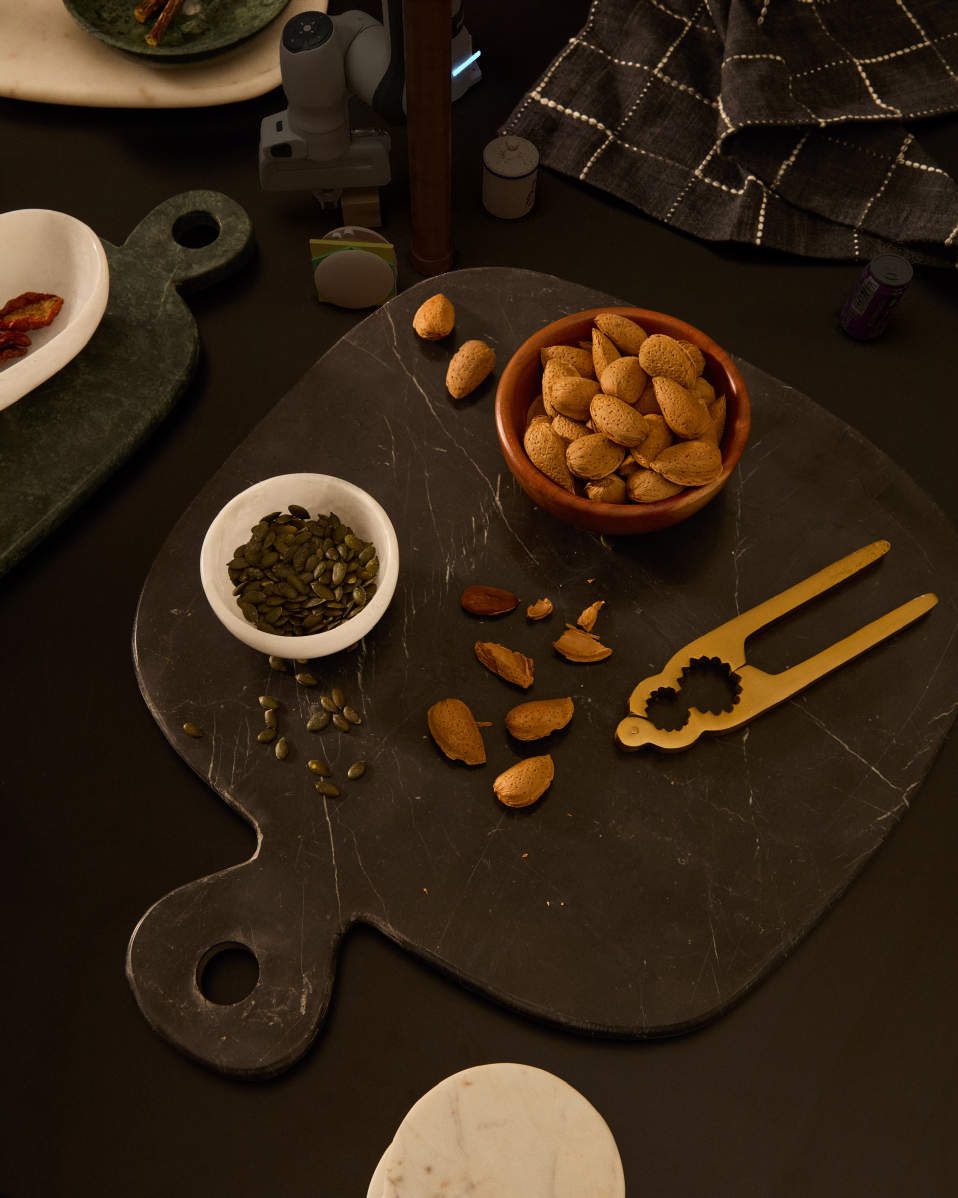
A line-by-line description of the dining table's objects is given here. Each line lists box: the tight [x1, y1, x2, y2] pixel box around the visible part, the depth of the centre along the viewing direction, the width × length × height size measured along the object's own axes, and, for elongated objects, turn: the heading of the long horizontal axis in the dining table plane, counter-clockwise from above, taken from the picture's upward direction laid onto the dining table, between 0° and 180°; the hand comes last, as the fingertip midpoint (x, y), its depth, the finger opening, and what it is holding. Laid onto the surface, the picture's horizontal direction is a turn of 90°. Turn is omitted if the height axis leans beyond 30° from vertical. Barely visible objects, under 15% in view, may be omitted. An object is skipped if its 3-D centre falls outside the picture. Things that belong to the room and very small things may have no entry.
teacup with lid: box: [481, 135, 541, 220], centre depth 156 cm, size 12×9×12 cm
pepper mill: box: [402, 0, 454, 277], centre depth 132 cm, size 7×7×50 cm
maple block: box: [340, 186, 382, 229], centre depth 157 cm, size 6×6×5 cm
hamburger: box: [309, 226, 398, 310], centre depth 146 cm, size 12×8×12 cm
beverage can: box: [838, 252, 914, 341], centre depth 147 cm, size 7×7×12 cm
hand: (329, 205), depth 156 cm, fingers closed
